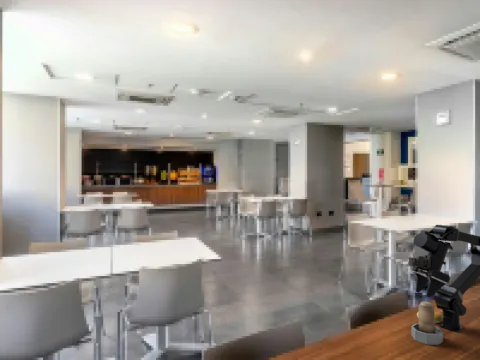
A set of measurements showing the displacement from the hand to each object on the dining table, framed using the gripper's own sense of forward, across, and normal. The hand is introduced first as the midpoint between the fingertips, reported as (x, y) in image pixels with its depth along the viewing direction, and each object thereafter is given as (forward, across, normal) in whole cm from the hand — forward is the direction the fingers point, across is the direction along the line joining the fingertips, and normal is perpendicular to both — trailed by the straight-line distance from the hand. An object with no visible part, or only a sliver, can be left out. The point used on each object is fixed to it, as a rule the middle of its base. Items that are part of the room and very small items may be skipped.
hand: (422, 294), depth 125 cm
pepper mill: (+13, +4, +5) cm, 15 cm away
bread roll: (+8, -14, +12) cm, 20 cm away
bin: (+14, +4, +5) cm, 15 cm away
